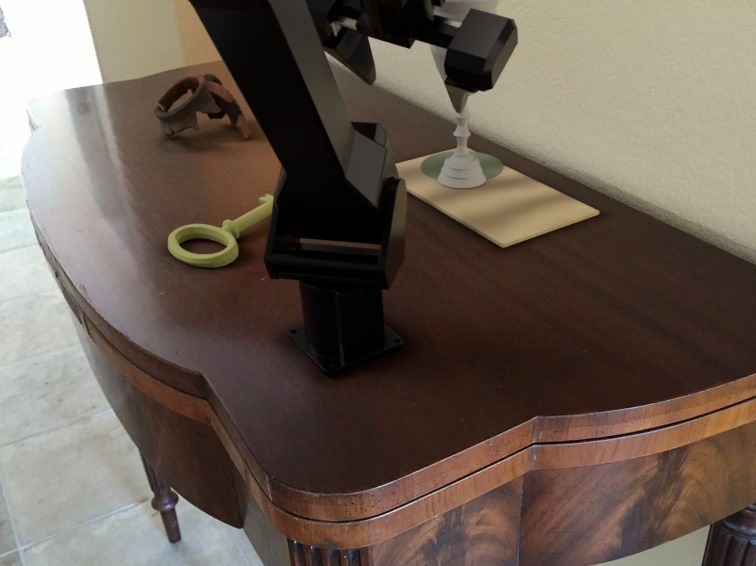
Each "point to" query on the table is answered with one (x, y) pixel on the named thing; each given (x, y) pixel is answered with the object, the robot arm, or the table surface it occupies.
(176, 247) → the key
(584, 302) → the table surface
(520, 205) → the place mat
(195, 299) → the table surface
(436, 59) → the chalice
